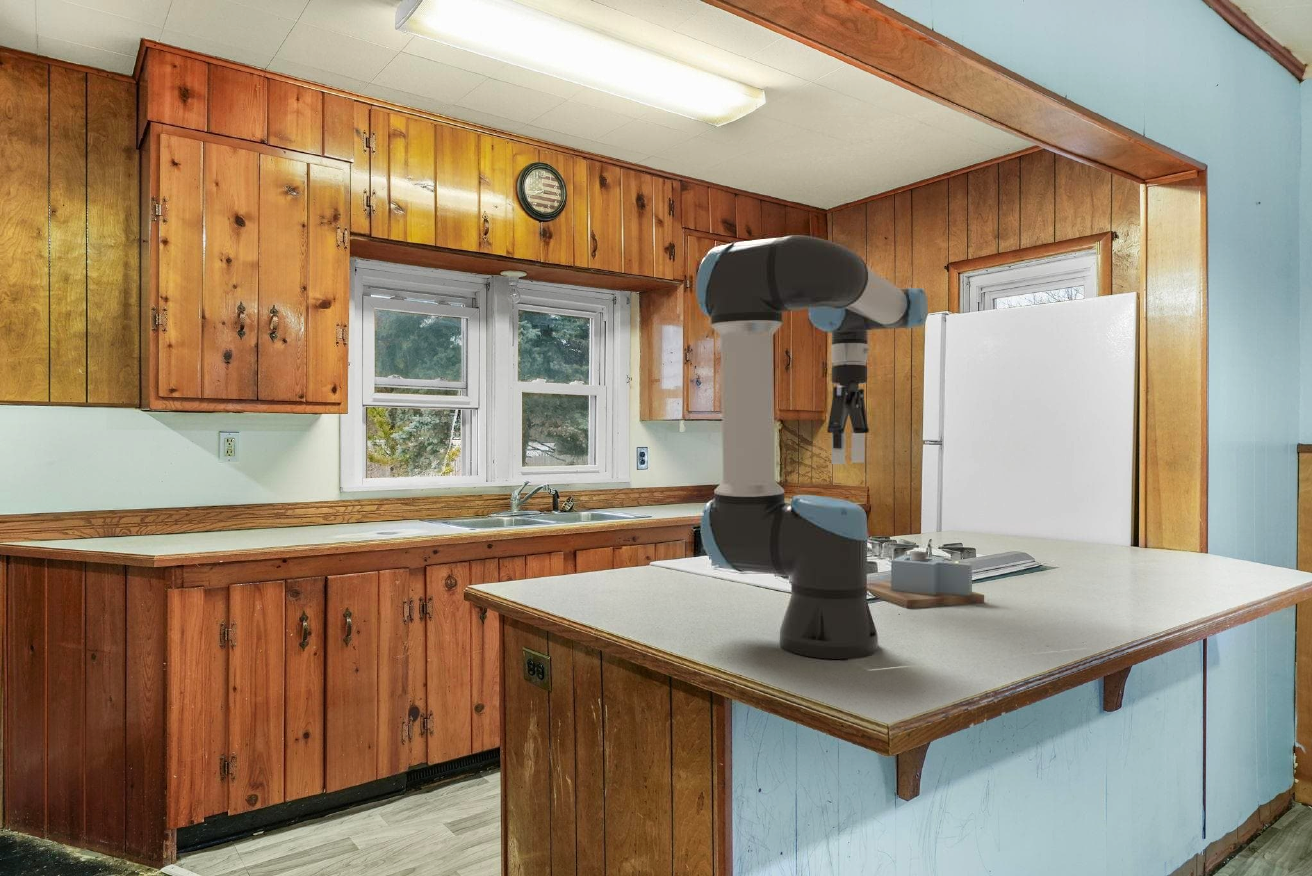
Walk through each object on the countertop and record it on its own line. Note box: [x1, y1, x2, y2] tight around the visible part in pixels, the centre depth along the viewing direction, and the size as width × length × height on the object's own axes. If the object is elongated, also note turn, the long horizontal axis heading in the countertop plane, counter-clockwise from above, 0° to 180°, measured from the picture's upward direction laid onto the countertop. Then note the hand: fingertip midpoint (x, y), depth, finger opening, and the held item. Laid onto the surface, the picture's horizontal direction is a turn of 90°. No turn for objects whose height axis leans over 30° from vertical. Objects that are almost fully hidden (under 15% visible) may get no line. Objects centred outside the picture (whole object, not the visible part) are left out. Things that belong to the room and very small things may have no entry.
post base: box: [867, 550, 985, 609], centre depth 165 cm, size 18×18×9 cm
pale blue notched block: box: [890, 554, 973, 596], centre depth 163 cm, size 14×8×6 cm, turn 57°
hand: (848, 463), depth 173 cm, fingers open, 13 cm apart
